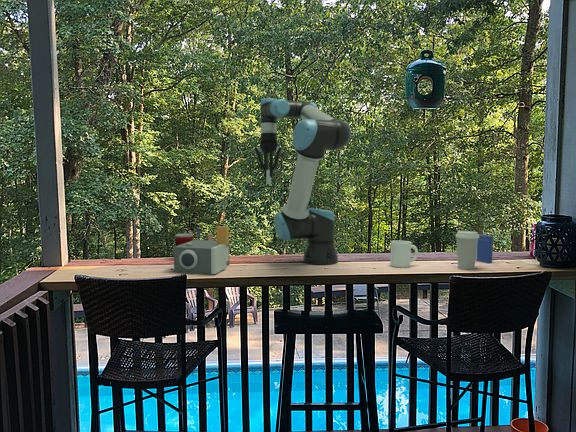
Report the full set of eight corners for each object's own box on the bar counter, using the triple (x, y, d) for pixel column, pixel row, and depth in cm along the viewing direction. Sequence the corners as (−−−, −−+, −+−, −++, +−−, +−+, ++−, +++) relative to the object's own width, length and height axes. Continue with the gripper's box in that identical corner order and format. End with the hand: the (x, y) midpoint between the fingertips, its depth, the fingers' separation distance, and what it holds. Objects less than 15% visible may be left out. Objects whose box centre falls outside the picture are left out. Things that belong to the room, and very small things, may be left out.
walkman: (492, 262, 245) (493, 235, 244) (488, 263, 244) (489, 235, 242) (476, 259, 251) (477, 233, 250) (472, 260, 250) (473, 233, 248)
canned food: (197, 258, 251) (196, 234, 250) (182, 261, 245) (182, 236, 244) (186, 256, 256) (186, 232, 255) (172, 259, 250) (171, 234, 249)
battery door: (228, 267, 228) (228, 226, 226) (217, 274, 215) (216, 230, 214) (218, 267, 229) (218, 226, 227) (206, 273, 216) (206, 230, 215)
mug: (414, 263, 242) (415, 240, 241) (421, 267, 233) (422, 242, 232) (387, 264, 240) (388, 240, 239) (394, 268, 232) (394, 243, 231)
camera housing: (229, 264, 237) (229, 239, 236) (210, 275, 216) (210, 247, 215) (194, 262, 241) (193, 238, 240) (172, 272, 220) (171, 245, 219)
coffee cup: (449, 266, 235) (450, 231, 234) (467, 265, 239) (468, 230, 237) (464, 270, 226) (466, 234, 225) (483, 269, 230) (484, 233, 229)
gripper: (284, 133, 260) (284, 184, 261) (257, 133, 263) (257, 184, 264) (280, 131, 253) (280, 184, 254) (252, 132, 256) (252, 184, 257)
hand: (268, 184), depth 259 cm, fingers closed
